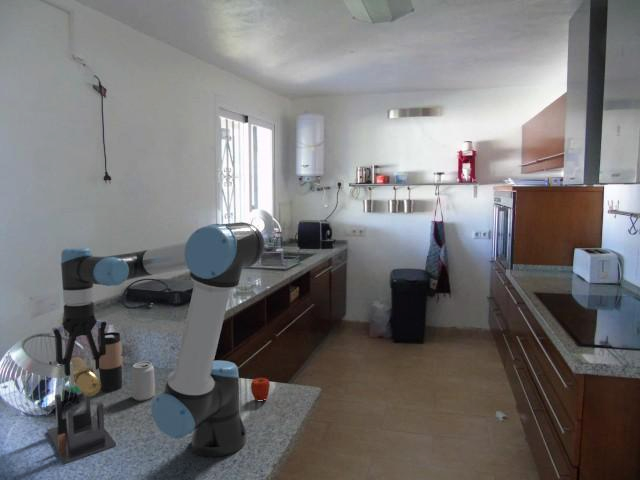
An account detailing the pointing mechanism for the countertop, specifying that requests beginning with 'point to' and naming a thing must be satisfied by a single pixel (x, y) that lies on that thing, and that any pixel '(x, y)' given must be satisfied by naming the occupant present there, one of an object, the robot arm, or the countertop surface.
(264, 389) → the apple
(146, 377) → the can
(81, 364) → the tube
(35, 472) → the countertop surface
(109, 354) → the travel mug
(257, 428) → the countertop surface
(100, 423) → the dark grey pronged rack
